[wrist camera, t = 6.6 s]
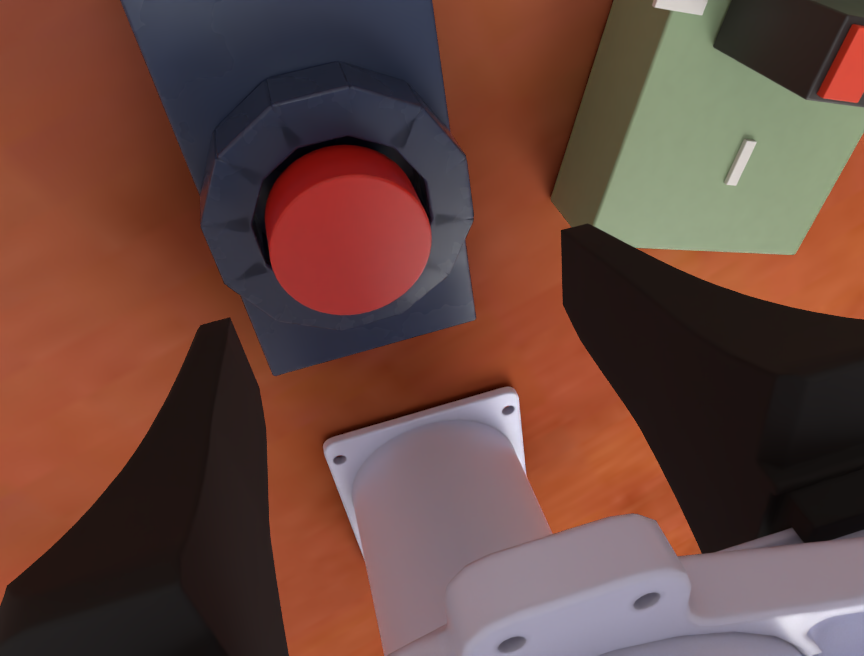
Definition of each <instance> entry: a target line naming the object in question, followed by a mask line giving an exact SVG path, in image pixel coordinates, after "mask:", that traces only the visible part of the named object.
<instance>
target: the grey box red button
mask: <svg viewBox="0 0 864 656" xmlns="http://www.w3.org/2000/svg"><path fill="white" fill-rule="evenodd" d="M120 1H121V4H122V6H123V9H124V11H125V14H126V16H127V19H128V21H129V23H130V26H131V28H132V31H133V33H134V36H135V38H136V41H137V43H138V46H139V48H140V50H141V53H142V55H143V58H144V60H145V63H146V65H147V68H148V70H149V73H150V75H151V77H152V80H153V82H154V85H155V87H156V90H157V92H158V95H159V97H160V100H161V102H162V104H163V107H164V109H165V112H166V114H167V117H168V119H169V122H170V124H171V127H172V129H173V131H174V134H175V136H176V139H177V141H178V144H179V146H180V149H181V151H182V154H183V156H184V158H185V161H186V163H187V166H188V168H189V171H190V173H191V176H192V178H193V181H194V183H195V185H196V188H197V190H198V193H199V195H200V224H201V229H202V232H203V234H204V236H205V239H206V241H207V244H208V246H209V248H210V251H211V253H212V255H213V258H214V260H215V263H216V265H217V267H218V270H219V272H220V275H221V277H222V279H223V282H224V284H225V285H227V286H228V287H229V288H231V289H232V290H234V291H235V292H236V293H238V294H239V295H240V296H241V298H242V301H243V303H244V306H245V308H246V311H247V313H248V316H249V318H250V321H251V323H252V325H253V328H254V330H255V333H256V335H257V338H258V340H259V343H260V345H261V348H262V350H263V352H264V355H265V357H266V360H267V362H268V365H269V367H270V370H271V372H272V374H273V375H274V376H277V375H281V374H284V373H288V372H292V371H295V370H299V369H302V368H306V367H309V366H313V365H317V364H320V363H324V362H327V361H331V360H334V359H338V358H341V357H345V356H349V355H352V354H356V353H359V352H363V351H366V350H370V349H374V348H377V347H381V346H384V345H388V344H391V343H395V342H399V341H402V340H406V339H409V338H413V337H416V336H420V335H423V334H427V333H431V332H434V331H438V330H441V329H445V328H448V327H452V326H456V325H459V324H463V323H466V322H470V321H473V320H475V319H476V313H475V306H474V298H473V291H472V284H471V277H470V270H469V262H468V255H467V248H466V241H465V239H466V236H467V234H468V232H469V230H470V227H471V225H472V223H473V220H474V218H473V217H474V211H473V204H472V196H471V188H470V180H469V172H468V164H467V159H466V155H465V154H464V152H463V151H462V149H461V148H460V146H459V145H458V143H457V142H456V140H455V139H454V137H453V136H452V134H451V133H450V125H449V118H448V111H447V104H446V97H445V89H444V82H443V75H442V68H441V61H440V53H439V46H438V39H437V32H436V25H435V17H434V10H433V3H432V0H120ZM334 145H357V146H362V147H367V148H370V149H373V150H376V151H378V152H380V153H382V154H384V155H386V156H387V157H389V158H390V159H392V160H393V161H394V162H395V163H396V164H397V165H399V166H400V167H401V169H402V170H403V171H404V172H405V173H406V175H407V177H408V178H409V180H410V182H411V184H412V186H413V188H414V190H415V192H416V194H417V196H418V198H419V200H420V202H421V204H422V206H423V208H424V210H425V212H426V214H427V217H428V219H429V223H430V227H431V235H432V241H431V250H430V255H429V258H428V261H427V264H426V266H425V268H424V270H423V272H422V274H421V275H420V277H419V278H418V280H417V281H416V282H415V283H414V284H413V286H412V287H411V288H410V289H409V290H408V291H407V292H405V293H404V294H403V295H402V296H400V297H399V298H398V299H396V300H395V301H393V302H391V303H390V304H388V305H386V306H384V307H381V308H379V309H376V310H373V311H370V312H366V313H362V314H355V315H333V314H327V313H322V312H319V311H316V310H313V309H311V308H308V307H306V306H304V305H302V304H301V303H299V302H298V301H296V300H295V299H294V298H293V297H291V296H290V295H289V294H288V293H287V292H286V291H285V290H284V289H283V287H282V286H281V285H280V283H279V282H278V280H277V279H276V276H275V274H274V272H273V270H272V266H271V262H270V256H269V249H268V242H267V235H266V227H265V207H266V202H267V198H268V195H269V193H270V190H271V188H272V186H273V185H274V183H275V181H276V180H277V178H278V177H279V176H280V174H281V173H282V172H283V171H284V170H285V169H286V168H287V167H288V166H289V165H291V164H292V163H293V162H294V161H295V160H297V159H299V158H300V157H302V156H303V155H305V154H307V153H310V152H312V151H314V150H317V149H320V148H323V147H328V146H334Z"/></svg>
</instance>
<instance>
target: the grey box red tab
mask: <svg viewBox="0 0 864 656" xmlns="http://www.w3.org/2000/svg"><path fill="white" fill-rule="evenodd" d="M713 47H714V48H715V49H717V50H718V51H720V52H722V53H724V54H726V55H727V56H729V57H731V58H733V59H734V60H736V61H738V62H740V63H741V64H743V65H745V66H747V67H748V68H750V69H752V70H754V71H756V72H757V73H759V74H761V75H763V76H764V77H766V78H768V79H770V80H771V81H773V82H775V83H777V84H778V85H780V86H782V87H784V88H786V89H787V90H789V91H791V92H793V93H794V94H796V95H798V96H800V97H801V98H803V99H805V100H811V101H818V102H826V103H833V104H841V105H848V106H856V107H864V0H731V3H730V5H729V8H728V10H727V13H726V15H725V18H724V20H723V23H722V25H721V27H720V30H719V32H718V35H717V37H716V40H715V42H714V45H713Z"/></svg>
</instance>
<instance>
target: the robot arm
mask: <svg viewBox="0 0 864 656" xmlns="http://www.w3.org/2000/svg"><path fill="white" fill-rule="evenodd" d="M561 248H562V289H563V306H564V308H565V310H566V312H567V314H568V316H569V318H570V320H571V322H572V325H573V327H574V328H575V330H576V332H577V334H578V336H579V338H580V340H581V342H582V343H583V345H584V346H585V348H586V349H587V351H588V352H589V354H590V355H591V357H592V358H593V360H594V361H595V362H596V364H597V365H598V367H599V368H600V370H601V371H602V373H603V374H604V376H605V377H606V378H607V380H608V381H609V383H610V384H611V386H612V387H613V388H614V390H615V391H616V393H617V394H618V396H619V397H620V399H621V400H622V401H623V403H624V404H625V406H626V407H627V409H628V410H629V411H630V413H631V415H632V416H633V418H634V419H635V421H636V423H637V424H638V426H639V427H640V429H641V431H642V433H643V435H644V437H645V438H646V440H647V442H648V444H649V446H650V448H651V450H652V452H653V453H654V455H655V457H656V459H657V461H658V463H659V465H660V467H661V469H662V471H663V473H664V475H665V477H666V479H667V481H668V483H669V485H670V487H671V489H672V491H673V493H674V495H675V497H676V499H677V501H678V503H679V505H680V507H681V509H682V511H683V513H684V515H685V518H686V520H687V522H688V524H689V526H690V528H691V530H692V532H693V535H694V537H695V539H696V541H697V543H698V546H699V548H700V550H701V552H702V554H696V555H686V556H677V555H676V554H675V552H674V550H673V549H672V547H671V545H670V544H669V542H668V540H667V539H666V537H665V535H664V534H663V532H662V530H661V529H660V527H659V525H658V523H657V522H656V520H653V519H650V518H647V517H644V516H641V515H638V514H625V515H618V516H611V517H607V518H603V519H600V520H597V521H594V522H590V523H587V524H584V525H581V526H577V527H574V528H571V529H568V530H564V531H561V532H558V533H555V534H553V533H552V531H551V529H550V527H549V525H548V522H547V520H546V518H545V516H544V514H543V511H542V509H541V507H540V505H539V503H538V500H537V498H536V496H535V494H534V492H533V489H532V487H531V485H530V483H529V481H528V478H527V476H526V466H525V456H524V446H523V436H522V425H521V415H520V405H519V397H518V394H517V392H516V390H515V389H514V388H512V387H502V388H499V389H495V390H492V391H489V392H485V393H482V394H478V395H475V396H471V397H468V398H465V399H461V400H458V401H454V402H451V403H447V404H444V405H441V406H437V407H434V408H430V409H427V410H423V411H420V412H416V413H413V414H410V415H406V416H403V417H399V418H396V419H392V420H389V421H386V422H382V423H379V424H375V425H372V426H368V427H365V428H362V429H358V430H355V431H351V432H348V433H344V434H341V435H337V436H334V437H331V438H329V439H328V440H326V441H325V442H324V444H323V450H324V455H325V458H326V460H327V463H328V466H329V468H330V471H331V474H332V476H333V479H334V481H335V484H336V487H337V489H338V492H339V495H340V497H341V500H342V502H343V505H344V508H345V510H346V513H347V516H348V518H349V521H350V524H351V526H352V529H353V531H354V534H355V537H356V539H357V542H358V545H359V547H360V550H361V552H362V555H363V558H364V560H365V563H366V568H367V573H368V578H369V583H370V588H371V593H372V598H373V602H374V607H375V612H376V617H377V622H378V627H379V632H380V636H381V641H382V646H383V651H384V656H864V320H863V319H854V318H846V317H840V316H834V315H828V314H822V313H817V312H811V311H806V310H802V309H797V308H792V307H788V306H784V305H780V304H776V303H772V302H768V301H764V300H761V299H757V298H754V297H750V296H747V295H744V294H741V293H738V292H735V291H732V290H729V289H726V288H723V287H720V286H717V285H715V284H712V283H710V282H707V281H704V280H702V279H700V278H697V277H695V276H693V275H690V274H688V273H686V272H683V271H681V270H679V269H677V268H674V267H672V266H670V265H668V264H666V263H664V262H662V261H660V260H658V259H656V258H654V257H652V256H650V255H648V254H646V253H644V252H642V251H640V250H638V249H636V248H634V247H632V246H630V245H629V244H627V243H625V242H623V241H621V240H619V239H617V238H615V237H614V236H612V235H610V234H608V233H606V232H604V231H602V230H600V229H598V228H596V227H595V226H592V225H590V224H588V223H587V224H583V225H579V226H576V227H572V228H568V229H564V230H561ZM506 406H509V407H507V408H504V407H506ZM339 455H342V456H340V457H336V456H339ZM0 656H289V654H288V648H287V642H286V636H285V631H284V625H283V619H282V612H281V606H280V600H279V593H278V587H277V580H276V574H275V567H274V560H273V552H272V545H271V538H270V526H269V504H268V469H267V439H266V425H265V419H264V412H263V406H262V401H261V395H260V389H259V386H258V383H257V381H256V379H255V376H254V374H253V371H252V369H251V367H250V364H249V362H248V359H247V357H246V355H245V352H244V350H243V347H242V345H241V343H240V340H239V338H238V335H237V333H236V331H235V328H234V326H233V323H232V321H231V319H230V317H229V318H226V319H222V320H218V321H214V322H210V323H207V324H203V325H200V327H199V328H198V330H197V332H196V334H195V337H194V339H193V342H192V344H191V347H190V349H189V351H188V354H187V356H186V358H185V361H184V363H183V365H182V367H181V370H180V372H179V374H178V376H177V378H176V380H175V382H174V384H173V386H172V388H171V390H170V392H169V395H168V397H167V399H166V400H165V402H164V404H163V406H162V408H161V410H160V411H159V413H158V415H157V417H156V418H155V420H154V422H153V424H152V425H151V427H150V429H149V431H148V432H147V434H146V436H145V437H144V439H143V440H142V442H141V444H140V445H139V447H138V448H137V450H136V451H135V453H134V454H133V455H132V457H131V458H130V460H129V461H128V463H127V464H126V465H125V467H124V468H123V469H122V471H121V472H120V473H119V474H118V476H117V477H116V478H115V479H114V480H113V482H112V483H111V484H110V485H109V486H108V488H107V489H106V490H105V491H104V493H103V494H102V495H101V496H100V497H99V499H98V500H97V501H96V502H95V503H94V504H93V506H92V507H91V508H90V509H89V510H88V511H87V512H86V513H85V514H84V515H83V516H82V517H81V518H80V520H79V521H78V522H77V523H76V524H75V525H74V526H73V527H72V528H71V529H70V530H69V531H68V532H67V533H66V534H65V535H64V536H63V537H62V538H61V539H60V540H59V541H58V542H57V543H55V544H54V545H53V546H52V547H51V548H50V549H49V550H48V551H47V552H46V553H45V554H43V555H42V556H41V557H40V558H39V559H38V560H37V561H35V562H34V563H33V564H32V565H31V566H30V567H29V568H27V569H26V570H25V571H24V572H23V573H22V574H21V575H19V576H18V577H17V578H16V579H15V580H14V581H12V582H11V583H10V584H9V585H7V588H6V591H5V594H4V597H3V600H2V603H1V606H0Z"/></svg>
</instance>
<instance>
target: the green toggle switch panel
mask: <svg viewBox="0 0 864 656" xmlns="http://www.w3.org/2000/svg"><path fill="white" fill-rule="evenodd" d="M730 3H731V0H614V1H613V4H612V7H611V10H610V13H609V16H608V20H607V23H606V26H605V29H604V32H603V35H602V38H601V42H600V45H599V48H598V51H597V54H596V57H595V60H594V64H593V67H592V70H591V73H590V76H589V79H588V82H587V86H586V89H585V92H584V95H583V98H582V101H581V104H580V108H579V111H578V114H577V117H576V120H575V123H574V126H573V130H572V133H571V136H570V139H569V142H568V145H567V148H566V152H565V155H564V158H563V161H562V164H561V167H560V171H559V174H558V177H557V180H556V183H555V186H554V189H553V193H552V196H551V202H552V203H553V204H554V205H555V207H556V208H557V209H558V210H559V212H560V213H561V214H562V215H563V217H564V218H565V219H566V221H567V222H568V223H569V224H570V226H571V227H576V226H579V225H583V224H587V223H588V224H590V225H592V226H595V227H596V228H598V229H600V230H602V231H604V232H606V233H608V234H610V235H612V236H614V237H615V238H617V239H619V240H621V241H623V242H625V243H627V244H629V245H630V246H632V247H634V248H651V249H673V250H695V251H717V252H739V253H761V254H783V255H794V254H795V253H796V252H797V250H798V248H799V246H800V245H801V243H802V241H803V239H804V238H805V236H806V234H807V232H808V230H809V229H810V227H811V225H812V223H813V222H814V220H815V218H816V216H817V214H818V213H819V211H820V209H821V207H822V206H823V204H824V202H825V200H826V198H827V197H828V195H829V193H830V191H831V190H832V188H833V186H834V184H835V182H836V181H837V179H838V177H839V175H840V174H841V172H842V170H843V168H844V166H845V165H846V163H847V161H848V159H849V158H850V156H851V154H852V152H853V150H854V149H855V147H856V145H857V143H858V142H859V140H860V138H861V136H862V134H863V133H864V107H856V106H848V105H841V104H833V103H826V102H818V101H811V100H805V99H803V98H801V97H800V96H798V95H796V94H794V93H793V92H791V91H789V90H787V89H786V88H784V87H782V86H780V85H778V84H777V83H775V82H773V81H771V80H770V79H768V78H766V77H764V76H763V75H761V74H759V73H757V72H756V71H754V70H752V69H750V68H748V67H747V66H745V65H743V64H741V63H740V62H738V61H736V60H734V59H733V58H731V57H729V56H727V55H726V54H724V53H722V52H720V51H718V50H717V49H715V48H714V47H713V45H714V42H715V40H716V37H717V35H718V32H719V30H720V27H721V25H722V23H723V20H724V18H725V15H726V13H727V10H728V8H729V5H730Z"/></svg>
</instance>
